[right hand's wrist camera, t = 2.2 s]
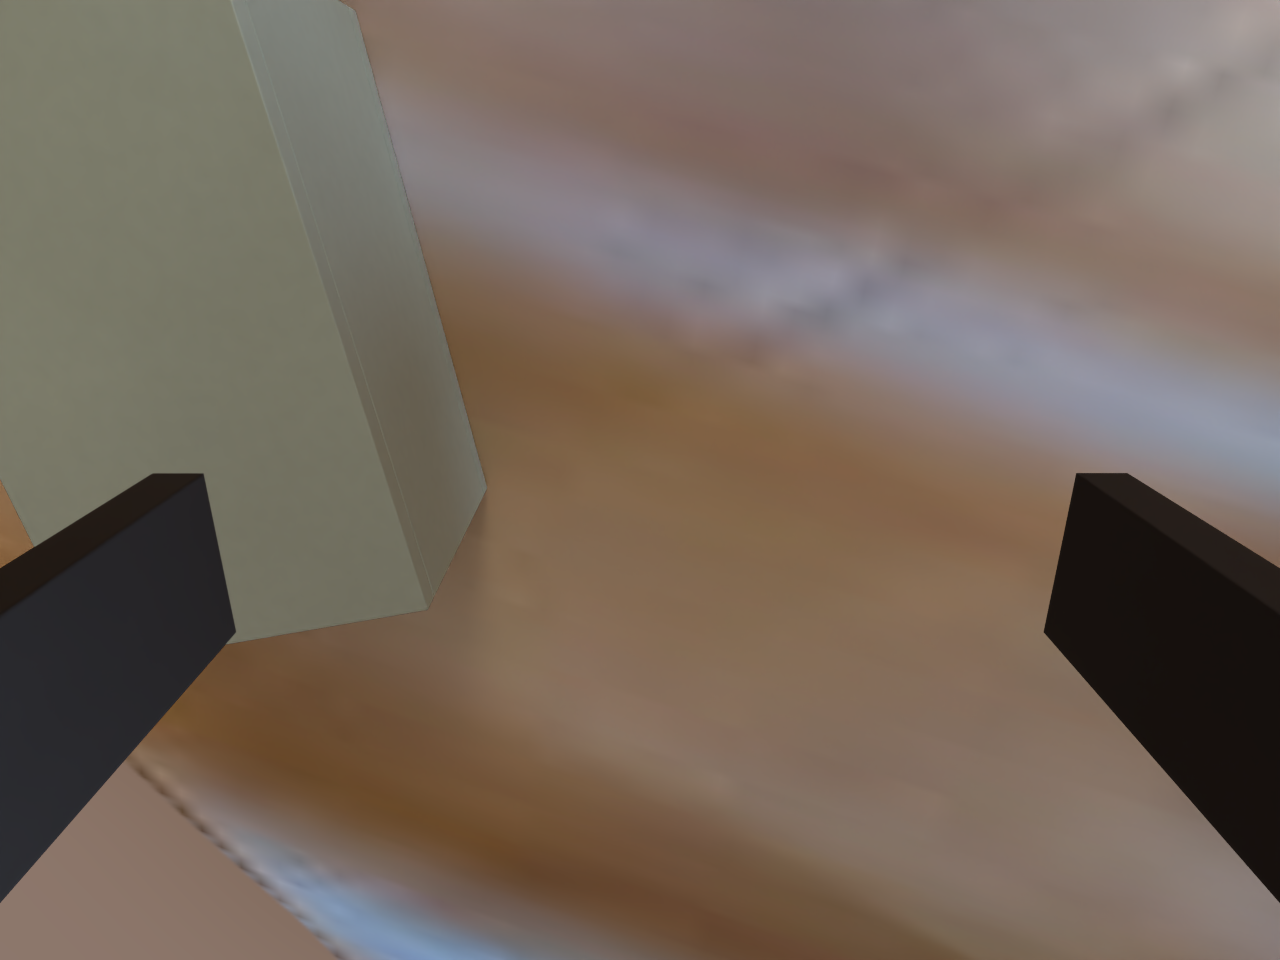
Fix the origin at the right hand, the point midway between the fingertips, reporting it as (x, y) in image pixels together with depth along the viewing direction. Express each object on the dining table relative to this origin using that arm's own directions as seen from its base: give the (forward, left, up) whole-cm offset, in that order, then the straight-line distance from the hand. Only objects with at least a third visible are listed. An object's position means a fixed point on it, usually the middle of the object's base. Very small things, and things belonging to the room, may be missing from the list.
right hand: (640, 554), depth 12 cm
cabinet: (-3, +13, -21) cm, 25 cm away
